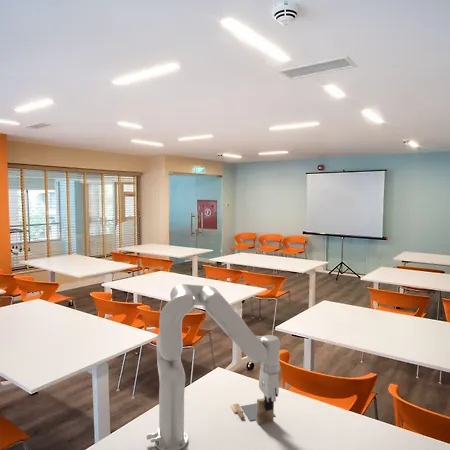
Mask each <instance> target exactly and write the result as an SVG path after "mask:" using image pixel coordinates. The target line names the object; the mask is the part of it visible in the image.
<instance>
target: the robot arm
mask: <svg viewBox="0 0 450 450" xmlns="http://www.w3.org/2000/svg"><path fill="white" fill-rule="evenodd" d="M195 306H198V307H199V306H202V308H203V309H204V310H205V311H206V313H207V314H208V315H209V316H210V317H211V318H212V319H213V321H215V323H216V324H217V325H218V326H219V327H220V328H221V330H222V331H223V332H224V333H225V335H227V336H228V338H229V339H230V340H232V341H233V342H234V343H235V344H236V346H237V347H238V348H239V349H240V351H242V352H243V353H244V355H245V356H247V358H248V360H250V361H251V362H252V363H254V364H260V369H259V375H258V376H259V377H258V378H259V379H258V388H259V389H260V391H261V392H262V394H263V398H265V399H264V408H265V410H266V411H267V410H272V409H273V402H274V403H276V401H277V397H279V391H280V389H279V388H280V387H279V386H280V385H279V383H280V382H279V381H280V380H279V372H280V350H281V349H280V347H281V343H280V342H281V341H280V339H279V337H278V336H276V335H273V334H267V335H255V334H254V332H253V331H252V330H251V329H250V327H249V326H248V325H247V324H246V322H245V320H244V319H243V318H242V317H241V316H240V314H239V313H238V311H236V310H235V308H233V306H232V305H231V304H230V303H229V302H228V301H227V300H226V298H225V297H224V296H223V295H222V294H221V293H220V292H219V290H217V289H216V288H215V287H214V286H210V285H203V284H202V285H200V284H187V283H181V284H177V285H175V286H173V288H172V289H171V291H170V300H169V301H168V302H166V304H165V305H164V306H163V307H162V310H161V311H160V314H159V320H158V321H159V323H158V333H157V335H156V361H157V362H156V365H157V371H158V378H159V391H158V392H159V393H158V405H159V407H158V411H159V412H158V414H159V415H158V423H159V424H158V428H157V431H154V432H152V433H147V434H146V440H150V444H151V443H154V445H155V447H156V448H157V449H158V450H182V449H184V448H185V447H186V446H187V444H188V440H189V435H188V434H187V432H185V388H186V387H185V386H186V373H185V369H184V366H183V363H182V360H181V359H182V357H181V355H182V353H183V349H184V343H183V331H182V330H183V329H182V328H183V319H184V317H186V316H187V314H189V313H191V311H192V310H193V309H194V308H195Z"/></svg>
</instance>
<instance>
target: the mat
mask: <svg viewBox="0 0 450 450" xmlns="http://www.w3.org/2000/svg"><path fill="white" fill-rule="evenodd" d="M240 407H241V409H242V410H243V412H244V413H243V414H245V416H246V418H247V419H248V420H249V422H253V421H256V420H257V402H256V403H251V404H244V405H241V406H240ZM274 417H276V414H275V413H274V415H273V418H274Z"/></svg>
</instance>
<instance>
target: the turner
mask: <svg viewBox="0 0 450 450" xmlns="http://www.w3.org/2000/svg"><path fill="white" fill-rule="evenodd" d="M229 407H230V409H231V410H232V412H233V413H234V414H237V415H238V417H239V418H240V420H241V421H242V420H245V419H246V418H245V416H246V415H244V413H243V412H244V411H243V409H242V408H241V406H240V404H239V403H234V404H230V405H229Z"/></svg>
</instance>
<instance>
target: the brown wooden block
mask: <svg viewBox="0 0 450 450" xmlns="http://www.w3.org/2000/svg"><path fill="white" fill-rule="evenodd" d="M264 399H265V398H264V397H262V398H257V399H256V403H257V420H255V421H256V423H257V424H258V425H262V424H268V423H271V422H272V423H273V422H274V417H273V415H274V414H275V410H274V409H275V408H274V407H275V402H273V409H272V410H267V411H266V410H265V408H264Z"/></svg>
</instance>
